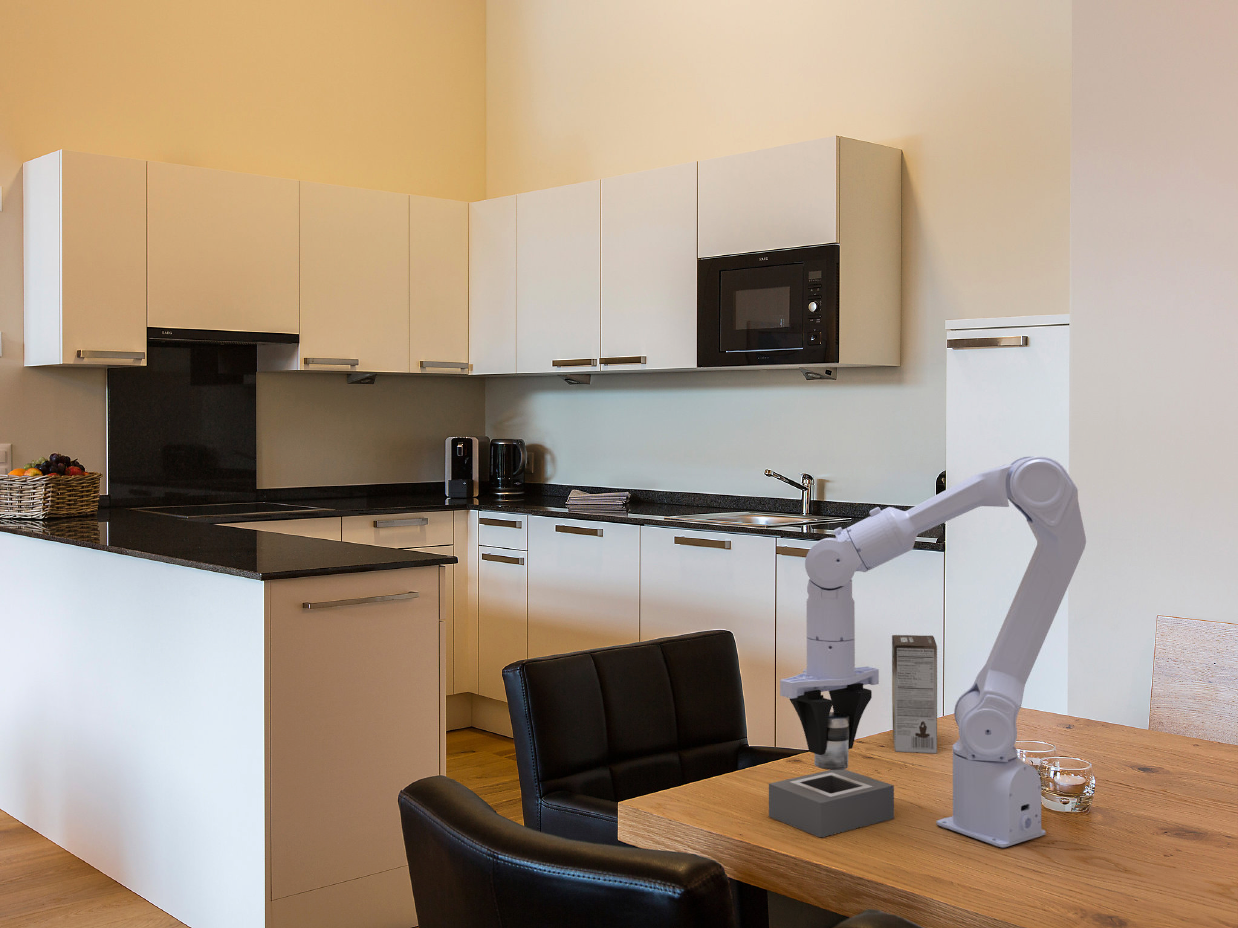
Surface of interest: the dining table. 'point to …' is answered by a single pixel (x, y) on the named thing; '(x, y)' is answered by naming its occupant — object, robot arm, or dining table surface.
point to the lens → (835, 743)
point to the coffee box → (914, 693)
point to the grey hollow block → (831, 802)
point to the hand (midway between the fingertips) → (830, 749)
